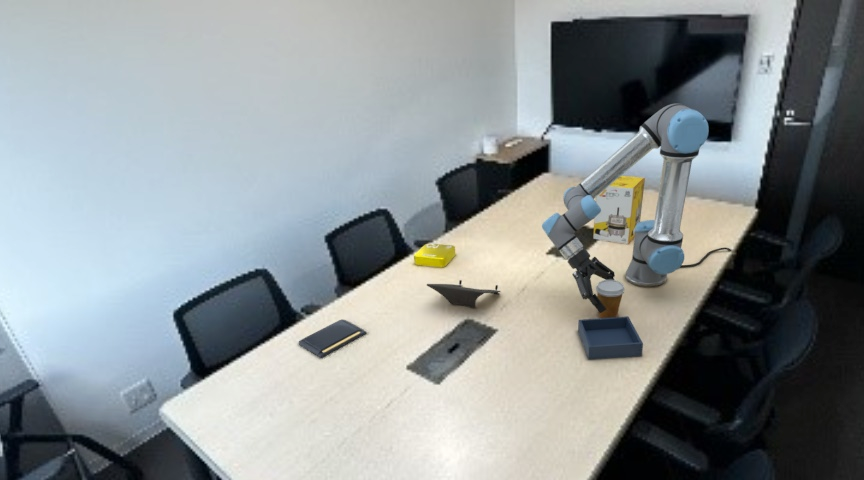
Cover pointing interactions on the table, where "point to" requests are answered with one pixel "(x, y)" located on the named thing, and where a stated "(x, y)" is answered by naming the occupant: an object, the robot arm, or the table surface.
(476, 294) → the dark gray curved stand
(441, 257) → the element tile
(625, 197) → the packaging box
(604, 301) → the disposable coffee cup
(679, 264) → the robot arm
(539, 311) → the table surface
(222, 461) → the table surface
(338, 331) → the wallet
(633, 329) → the bin
